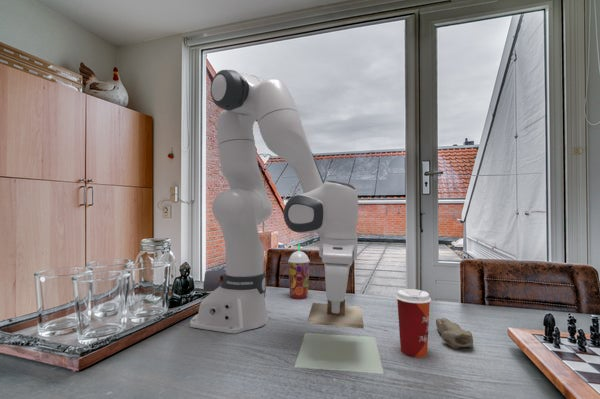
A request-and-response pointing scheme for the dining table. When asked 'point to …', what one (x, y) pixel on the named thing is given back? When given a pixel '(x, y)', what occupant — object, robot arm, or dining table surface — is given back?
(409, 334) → the paper cup
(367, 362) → the mat
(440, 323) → the sculpture
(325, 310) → the lid
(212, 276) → the bluetooth speaker
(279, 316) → the dining table surface
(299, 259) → the smoothie
